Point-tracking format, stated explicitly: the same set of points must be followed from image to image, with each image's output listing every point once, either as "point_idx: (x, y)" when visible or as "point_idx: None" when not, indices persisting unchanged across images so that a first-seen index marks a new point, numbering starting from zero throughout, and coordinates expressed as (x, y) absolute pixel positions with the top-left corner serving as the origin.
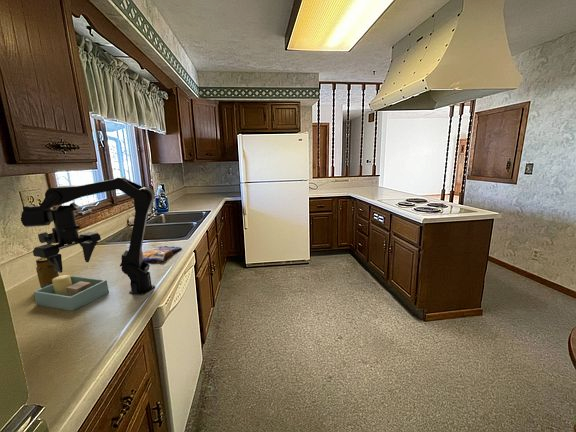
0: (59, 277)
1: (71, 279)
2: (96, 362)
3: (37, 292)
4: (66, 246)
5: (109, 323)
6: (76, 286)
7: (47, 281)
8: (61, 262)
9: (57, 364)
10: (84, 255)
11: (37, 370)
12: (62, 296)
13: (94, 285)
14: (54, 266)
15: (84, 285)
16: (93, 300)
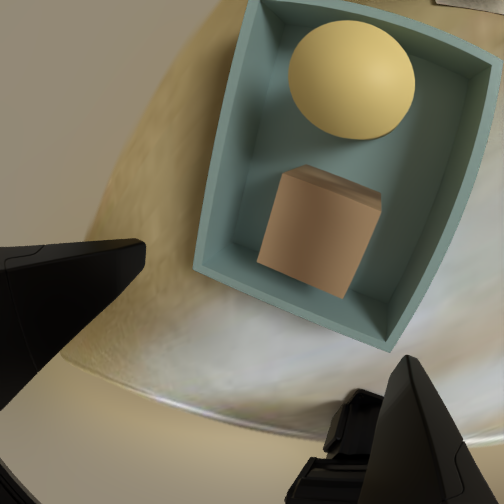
0: (359, 55)
1: (479, 65)
2: (106, 374)
3: (243, 19)
4: (17, 496)
5: (182, 375)
6: (293, 237)
7: None
8: (59, 346)
9: None
10: (414, 415)
11: None
12: (200, 218)
13: (323, 320)
14: (71, 248)
15: (304, 281)
16: None
